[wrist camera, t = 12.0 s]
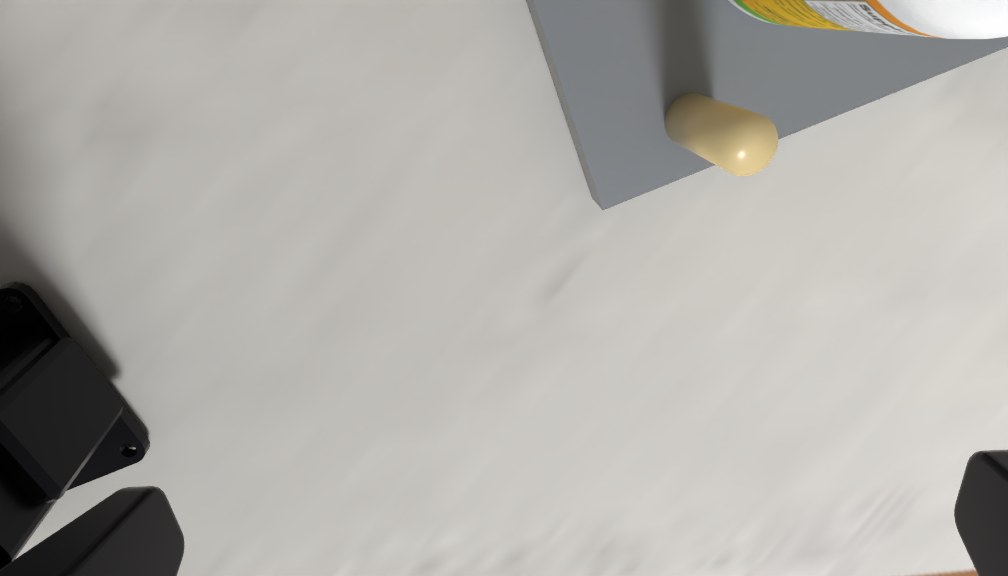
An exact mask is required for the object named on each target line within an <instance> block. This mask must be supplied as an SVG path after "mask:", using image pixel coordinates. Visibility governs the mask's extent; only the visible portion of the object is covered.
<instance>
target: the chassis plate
mask: <svg viewBox="0 0 1008 576" xmlns="http://www.w3.org/2000/svg"><path fill="white" fill-rule="evenodd" d="M526 1H527V4H528V7H529V10H530V13H531V16H532V19H533V22H534V25H535V28H536V31H537V34H538V37H539V40H540V43H541V46H542V49H543V52H544V55H545V58H546V61H547V64H548V67H549V70H550V73H551V76H552V79H553V82H554V85H555V88H556V91H557V94H558V97H559V100H560V103H561V106H562V109H563V112H564V115H565V118H566V121H567V124H568V127H569V130H570V133H571V136H572V139H573V142H574V144H575V147H576V150H577V153H578V156H579V159H580V162H581V165H582V168H583V171H584V174H585V177H586V180H587V183H588V186H589V189H590V192H591V195H592V198H593V200H594V201H595V202H596V203H597V204H598V205H599V206H600V208H601V209H602V210H605V209H607V208H610V207H612V206H615V205H617V204H619V203H622V202H624V201H627V200H629V199H632V198H634V197H637V196H639V195H642V194H644V193H647V192H649V191H652V190H654V189H657V188H659V187H662V186H664V185H667V184H669V183H672V182H674V181H677V180H679V179H681V178H684V177H686V176H689V175H691V174H694V173H696V172H699V171H701V170H704V169H706V168H709V167H711V166H714V165H717V166H719V167H720V168H722V169H724V170H726V171H728V172H729V173H731V174H734V175H737V176H749V175H752V174H755V173H757V172H759V171H761V170H762V169H763V168H765V167H766V166H767V165H768V164H769V162H770V161H771V160H772V158H773V156H774V154H775V152H776V149H777V146H778V139H781V138H783V137H786V136H788V135H791V134H793V133H796V132H798V131H800V130H803V129H805V128H808V127H810V126H813V125H815V124H818V123H820V122H823V121H825V120H828V119H830V118H833V117H835V116H838V115H840V114H843V113H845V112H848V111H850V110H853V109H855V108H857V107H860V106H862V105H865V104H867V103H870V102H872V101H875V100H877V99H880V98H882V97H885V96H887V95H890V94H892V93H895V92H897V91H900V90H902V89H905V88H907V87H910V86H912V85H915V84H917V83H919V82H922V81H924V80H927V79H929V78H932V77H934V76H937V75H939V74H942V73H944V72H947V71H949V70H952V69H954V68H957V67H959V66H962V65H964V64H967V63H969V62H972V61H974V60H976V59H979V58H981V57H984V56H986V55H989V54H991V53H994V52H996V51H999V50H1001V49H1004V48H1006V47H1008V36H1006V37H1000V38H992V39H946V38H935V37H923V36H911V35H898V34H885V33H872V32H860V31H849V30H834V29H821V28H808V27H795V26H785V25H778V24H773V23H768V22H764V21H761V20H759V19H757V18H754V17H752V16H750V15H748V14H746V13H744V12H743V11H741V10H740V9H738V8H737V7H735V6H734V5H733V4H732V3H731V2H730V1H728V0H526Z"/></svg>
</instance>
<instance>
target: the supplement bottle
mask: <svg viewBox="0 0 1008 576" xmlns="http://www.w3.org/2000/svg"><path fill="white" fill-rule="evenodd" d="M728 1H730V2H731V3H732V4H733V5H734V6H735V7H737V8H738V9H740V10H741V11H743V12H744V13H746V14H748V15H750V16H752V17H754V18H757V19H759V20H761V21H764V22H768V23H773V24H778V25H785V26H795V27H808V28H821V29H834V30H849V31H860V32H872V33H885V34H898V35H911V36H923V37H935V38H946V39H992V38H1000V37H1006V36H1008V0H728Z"/></svg>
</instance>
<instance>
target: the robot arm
mask: <svg viewBox="0 0 1008 576" xmlns="http://www.w3.org/2000/svg"><path fill="white" fill-rule="evenodd" d="M10 296H13V297H16V298H18V299H19V300H20V301H21V303H22V307H20V306H17V305H15V304H14V303H12V302H11V299H10ZM125 444H131V445H133V446H134V447H136V449H134V450H133V449H130V448H128V447H127V446H126V445H125ZM149 447H150V441H149V439H148V437H147V436H146V435H145V433H144V432H143V431H142V429H141V428H140V427H139V425H138V424H137V423H136V422H135V420H134V419H133V418H132V416H131V415H130V414H129V412H128V411H127V410H126V409H125V407H124V405H123V402H122V401H121V399H120V398H119V397H118V396H117V394H116V393H115V392H114V390H113V389H112V388H111V386H110V385H109V384H108V382H107V381H106V380H105V379H104V377H103V376H102V375H101V373H100V372H99V371H98V369H97V368H96V367H95V366H94V364H93V363H92V362H91V360H90V359H89V358H88V356H87V355H86V354H85V353H84V351H83V350H82V349H81V347H80V346H79V345H78V343H77V342H76V341H74V340H72V338H71V337H70V336H69V334H68V333H67V332H66V331H65V329H64V328H63V327H62V325H61V324H60V323H59V321H58V320H57V319H56V318H55V316H54V315H53V314H52V312H51V311H50V310H49V308H48V307H47V306H46V305H45V303H44V302H43V301H42V299H41V298H40V297H39V295H38V294H37V293H36V292H35V291H34V290H33V289H32V288H31V287H30V286H28V285H26V284H23V283H18V282H13V283H8V284H6V285H3V286H1V287H0V576H177V573H178V570H179V567H180V564H181V561H182V557H183V553H184V537H183V533H182V531H181V528H180V526H179V524H178V522H177V519H176V517H175V515H174V513H173V511H172V508H171V506H170V504H169V502H168V499H167V497H166V495H165V493H164V492H163V491H162V490H161V489H160V488H158V487H154V486H146V487H128V488H123V489H120V490H118V491H117V492H115V493H114V494H112V495H111V496H109V497H108V498H106V499H105V500H103V501H102V502H100V503H99V504H97V505H96V506H94V507H93V508H91V509H90V510H88V511H87V512H85V513H84V514H82V515H81V516H79V517H78V518H76V519H75V520H73V521H72V522H70V523H69V524H67V525H66V526H64V527H63V528H61V529H60V530H58V531H57V532H55V533H54V534H52V535H51V536H49V537H48V538H46V539H45V540H43V541H42V542H40V543H39V544H37V545H36V546H34V547H33V548H31V549H30V550H28V551H27V552H25V553H24V554H22V555H21V556H19V557H18V558H17V559H15V558H16V557H17V555H18V554H19V553H20V551H21V550H22V548H23V547H24V546H25V544H26V543H27V541H28V540H29V539H30V537H31V536H32V535H33V533H34V532H35V530H36V529H37V528H38V526H39V525H40V523H41V522H42V521H43V519H44V518H45V516H46V515H47V514H48V512H49V511H50V510H51V508H52V507H53V505H54V504H55V503H56V501H57V500H58V499H59V498H61V497H62V496H63V495H64V493H65V492H66V491H67V490H69V489H72V488H74V487H77V486H79V485H82V484H84V483H87V482H89V481H92V480H95V479H97V478H100V477H102V476H105V475H107V474H110V473H112V472H115V471H117V470H120V469H122V468H125V467H127V466H130V465H132V464H135V463H137V462H139V461H140V460H142V459H143V457H144V456H145V454H146V452H147V451H148V449H149ZM954 516H955V522H956V526H957V529H958V532H959V534H960V536H961V539H962V541H963V543H964V545H965V547H966V549H967V552H968V554H969V556H970V558H971V560H972V562H973V565H974V567H975V569H976V571H977V573H978V575H979V576H1008V450H991V451H979V452H976V453H974V454H973V455H972V456H971V457H970V458H969V460H968V463H967V466H966V470H965V473H964V476H963V480H962V483H961V487H960V490H959V494H958V497H957V500H956V504H955V510H954Z"/></svg>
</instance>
